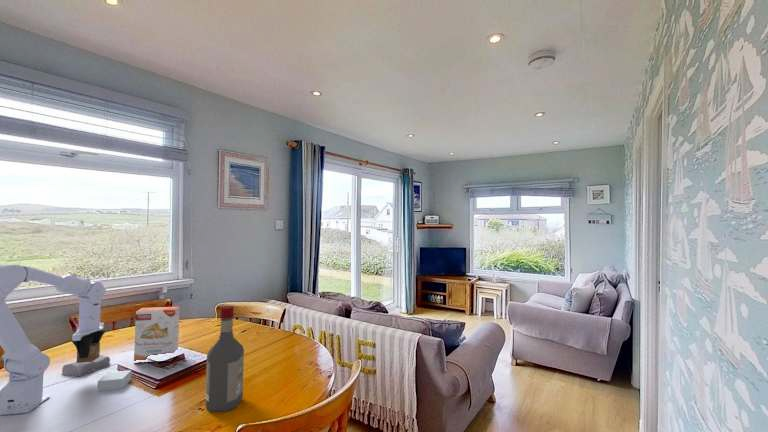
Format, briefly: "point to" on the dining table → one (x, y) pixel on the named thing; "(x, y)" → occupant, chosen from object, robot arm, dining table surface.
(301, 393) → the dining table surface
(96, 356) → the walnut block
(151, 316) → the cracker box
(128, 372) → the grey-blue block
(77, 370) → the stone block
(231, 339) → the liquor
